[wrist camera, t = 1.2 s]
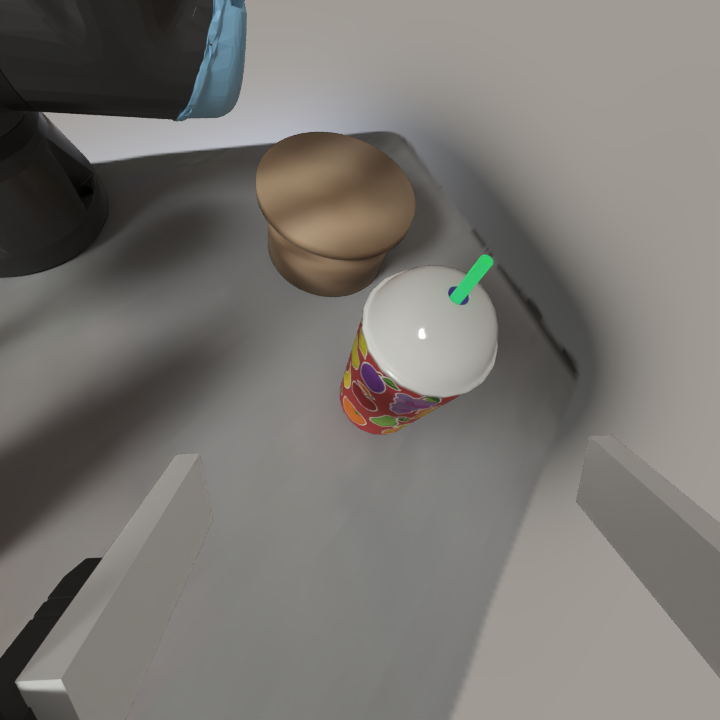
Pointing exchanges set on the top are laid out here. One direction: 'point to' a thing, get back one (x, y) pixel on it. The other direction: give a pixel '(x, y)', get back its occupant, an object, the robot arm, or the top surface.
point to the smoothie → (419, 346)
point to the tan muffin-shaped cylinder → (332, 210)
